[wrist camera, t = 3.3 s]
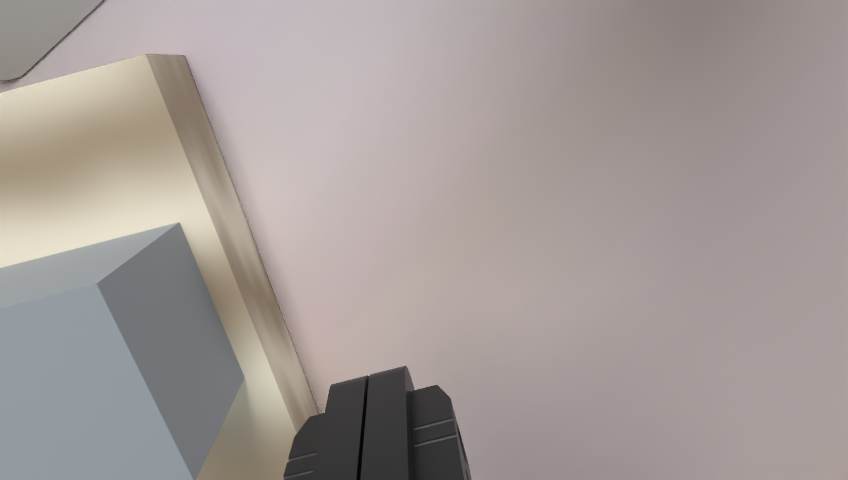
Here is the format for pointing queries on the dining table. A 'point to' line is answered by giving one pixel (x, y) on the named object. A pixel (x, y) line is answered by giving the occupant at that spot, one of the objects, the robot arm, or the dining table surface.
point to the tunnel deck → (154, 223)
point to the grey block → (112, 363)
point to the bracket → (35, 30)
